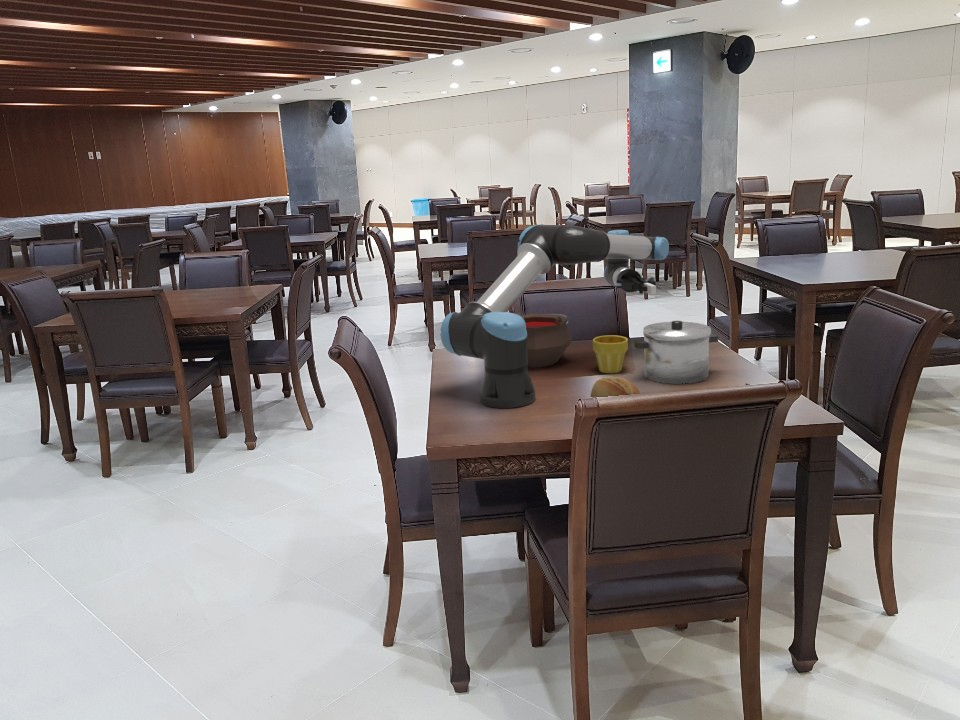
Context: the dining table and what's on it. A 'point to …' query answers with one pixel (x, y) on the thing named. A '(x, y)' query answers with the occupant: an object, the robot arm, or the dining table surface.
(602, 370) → the plant pot
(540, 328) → the brown clay bowl
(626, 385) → the bread roll
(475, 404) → the dining table surface
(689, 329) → the cooker lid
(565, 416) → the dining table surface
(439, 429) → the dining table surface
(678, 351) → the pressure cooker
